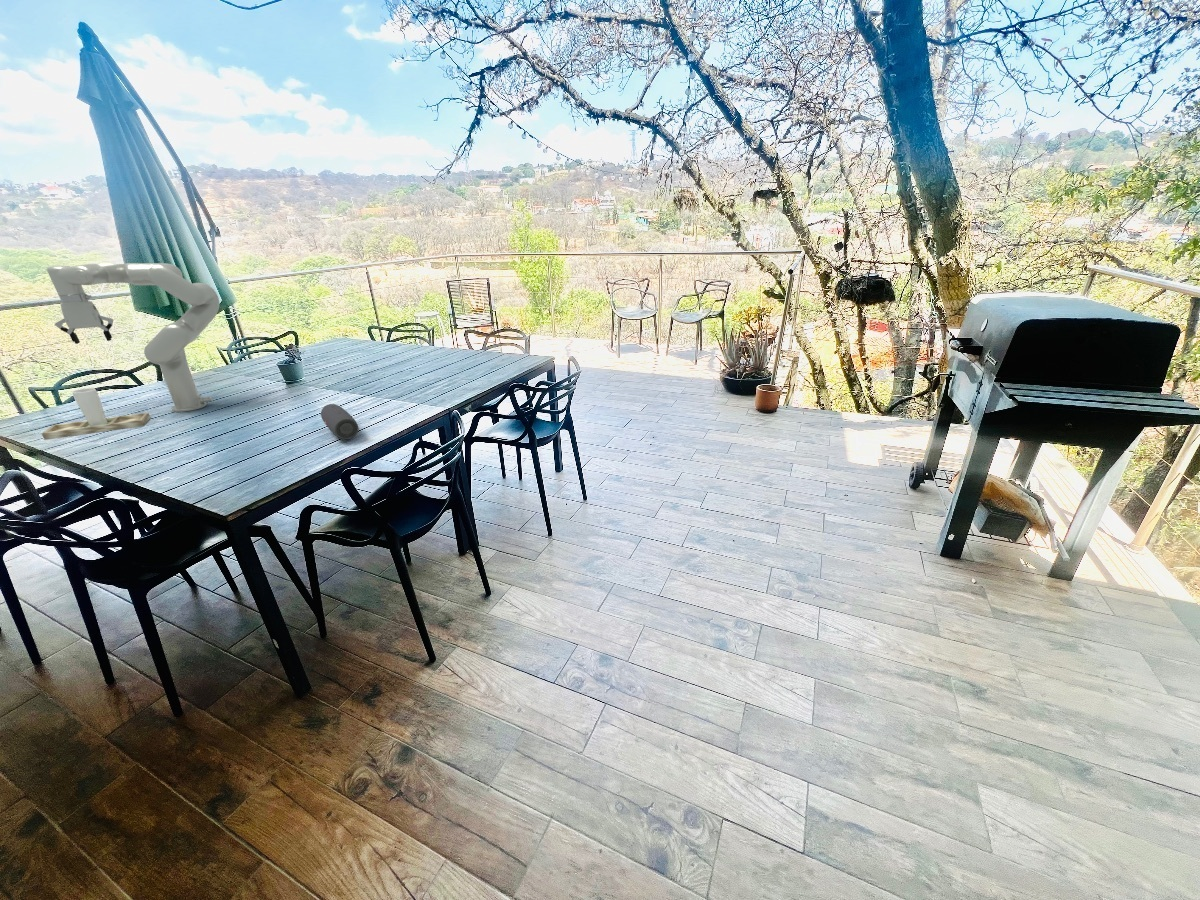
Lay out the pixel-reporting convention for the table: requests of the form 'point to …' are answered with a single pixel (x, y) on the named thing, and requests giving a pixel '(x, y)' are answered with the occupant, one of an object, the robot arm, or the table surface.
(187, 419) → the table surface
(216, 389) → the table surface
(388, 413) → the table surface
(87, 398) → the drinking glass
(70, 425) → the wooden compartment tray
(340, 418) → the bluetooth speaker
